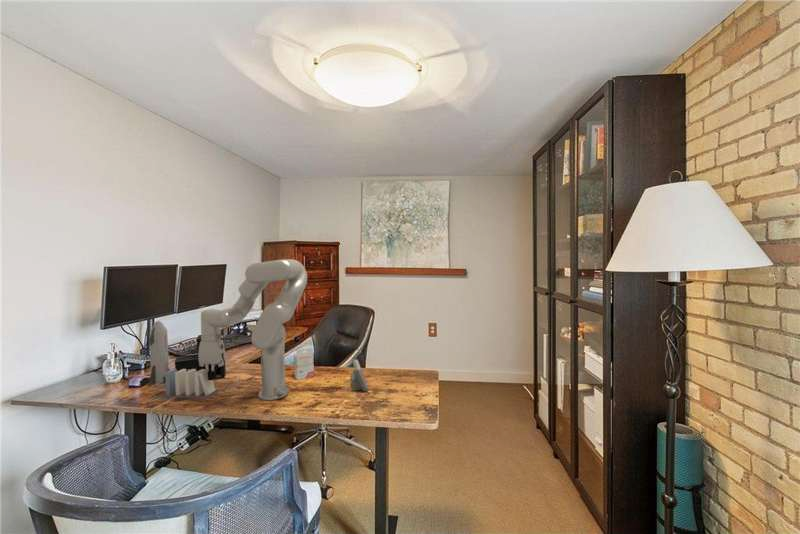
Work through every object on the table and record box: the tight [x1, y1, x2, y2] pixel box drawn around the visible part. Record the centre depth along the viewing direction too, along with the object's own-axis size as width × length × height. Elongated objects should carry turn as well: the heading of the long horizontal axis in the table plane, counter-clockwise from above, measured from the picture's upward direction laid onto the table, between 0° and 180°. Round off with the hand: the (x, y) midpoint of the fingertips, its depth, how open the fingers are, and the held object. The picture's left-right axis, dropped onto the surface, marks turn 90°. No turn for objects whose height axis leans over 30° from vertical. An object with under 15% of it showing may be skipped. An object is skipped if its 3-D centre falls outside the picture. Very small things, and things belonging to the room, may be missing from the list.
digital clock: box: [350, 359, 369, 392], centre depth 163 cm, size 16×9×11 cm, turn 1°
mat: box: [157, 388, 223, 399], centre depth 157 cm, size 23×10×1 cm, turn 86°
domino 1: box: [165, 368, 177, 395], centre depth 157 cm, size 2×5×10 cm, turn 176°
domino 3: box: [185, 369, 196, 395], centre depth 156 cm, size 2×5×10 cm, turn 176°
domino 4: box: [195, 369, 205, 396], centre depth 156 cm, size 2×5×10 cm, turn 176°
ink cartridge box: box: [293, 347, 315, 381], centre depth 177 cm, size 9×5×15 cm, turn 120°
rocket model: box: [148, 320, 171, 387], centre depth 173 cm, size 14×7×30 cm, turn 177°
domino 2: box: [175, 369, 186, 395], centre depth 157 cm, size 2×5×10 cm, turn 176°
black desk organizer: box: [174, 328, 227, 381], centre depth 176 cm, size 23×11×24 cm, turn 113°
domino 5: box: [199, 370, 216, 396], centre depth 156 cm, size 2×5×10 cm, turn 175°
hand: (212, 379), depth 156 cm, fingers closed
